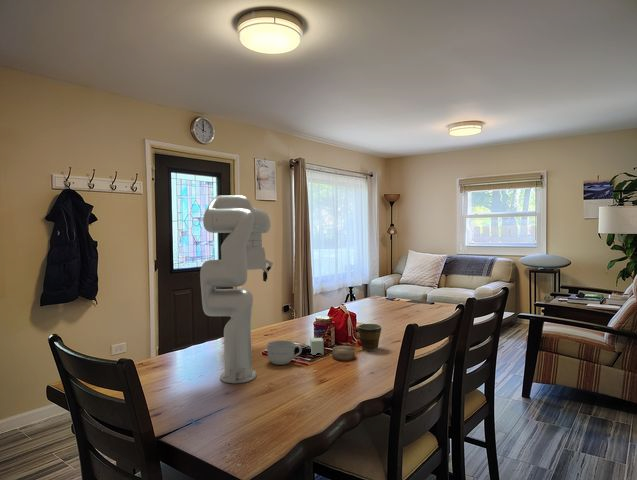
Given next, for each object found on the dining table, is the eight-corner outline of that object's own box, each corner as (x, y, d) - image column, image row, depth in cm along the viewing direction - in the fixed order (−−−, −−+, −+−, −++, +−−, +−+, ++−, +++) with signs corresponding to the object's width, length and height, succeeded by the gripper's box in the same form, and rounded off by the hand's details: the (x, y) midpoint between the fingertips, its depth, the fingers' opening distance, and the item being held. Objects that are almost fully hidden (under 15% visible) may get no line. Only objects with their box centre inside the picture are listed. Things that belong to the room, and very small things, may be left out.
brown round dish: (356, 360, 167) (356, 351, 167) (334, 361, 166) (334, 352, 166) (352, 353, 176) (352, 344, 176) (330, 354, 175) (330, 345, 175)
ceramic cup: (381, 346, 186) (380, 323, 186) (382, 353, 176) (382, 329, 176) (351, 345, 187) (351, 323, 187) (351, 352, 178) (350, 329, 177)
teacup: (261, 364, 164) (261, 344, 163) (277, 356, 173) (277, 337, 173) (292, 370, 157) (292, 348, 157) (306, 361, 167) (306, 341, 167)
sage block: (323, 355, 175) (323, 340, 175) (311, 355, 174) (311, 341, 174) (322, 351, 180) (321, 337, 179) (310, 352, 179) (310, 338, 179)
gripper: (236, 245, 184) (236, 284, 184) (274, 243, 190) (275, 281, 191) (232, 244, 191) (233, 282, 191) (269, 243, 197) (270, 279, 198)
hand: (254, 281), depth 191 cm, fingers open, 9 cm apart
